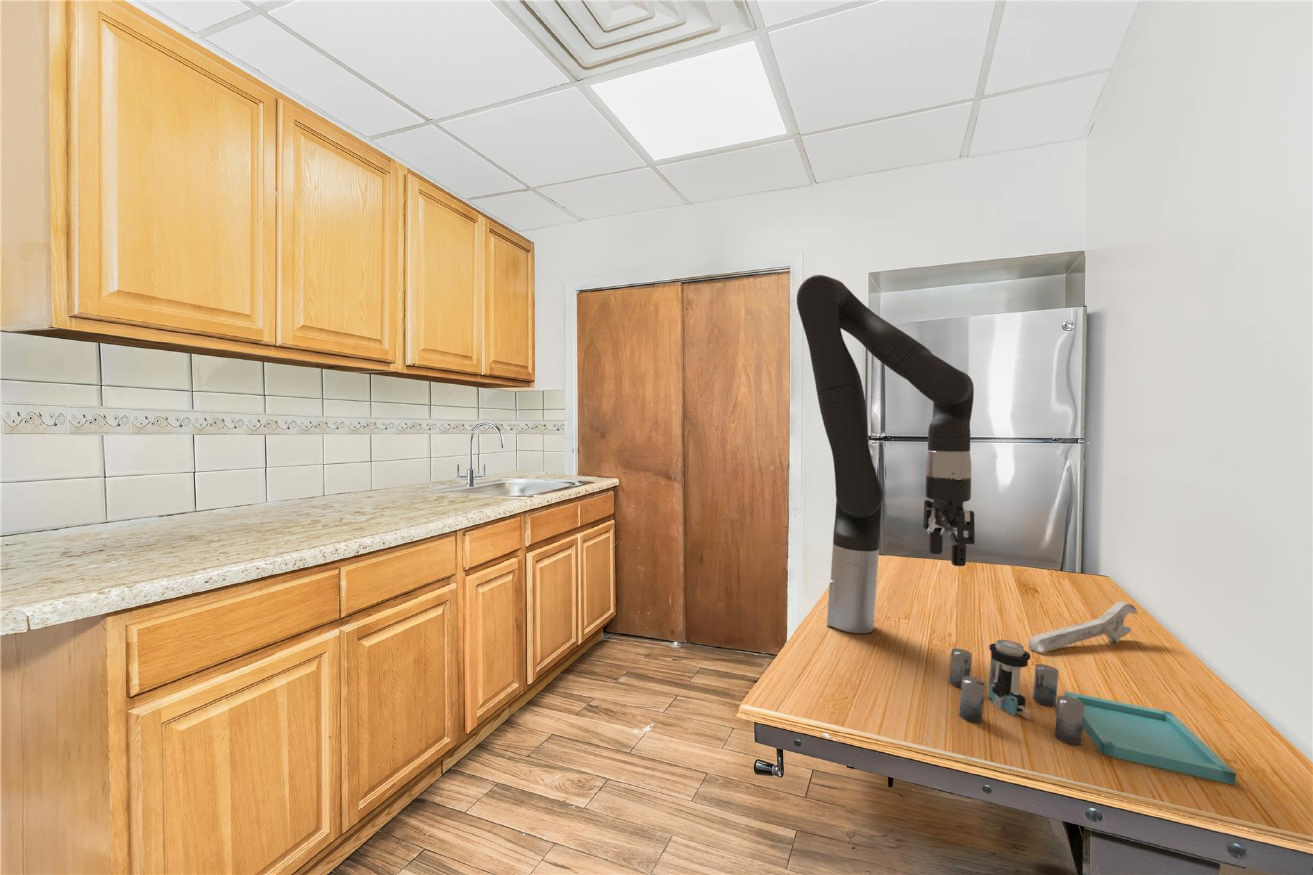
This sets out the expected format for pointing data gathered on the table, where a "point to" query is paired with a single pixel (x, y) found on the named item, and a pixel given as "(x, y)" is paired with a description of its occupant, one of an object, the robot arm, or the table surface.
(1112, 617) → the wrench
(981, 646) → the table surface
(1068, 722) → the standoff cluster
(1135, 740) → the tray
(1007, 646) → the push button
